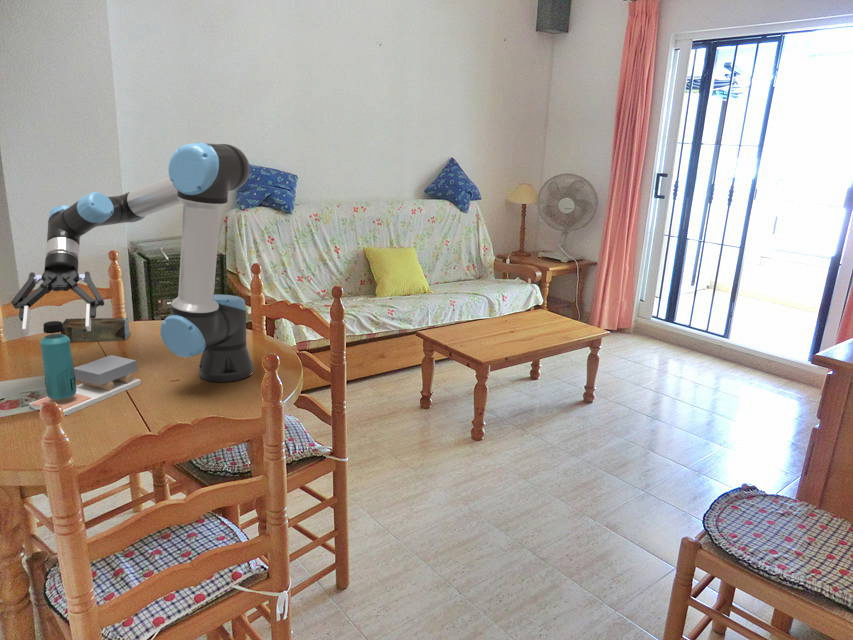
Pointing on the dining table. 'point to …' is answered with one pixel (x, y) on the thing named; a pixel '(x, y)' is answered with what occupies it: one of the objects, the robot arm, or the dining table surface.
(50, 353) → the beverage bottle
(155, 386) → the dining table surface
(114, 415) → the dining table surface
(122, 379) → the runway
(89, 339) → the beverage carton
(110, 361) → the slab
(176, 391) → the dining table surface
